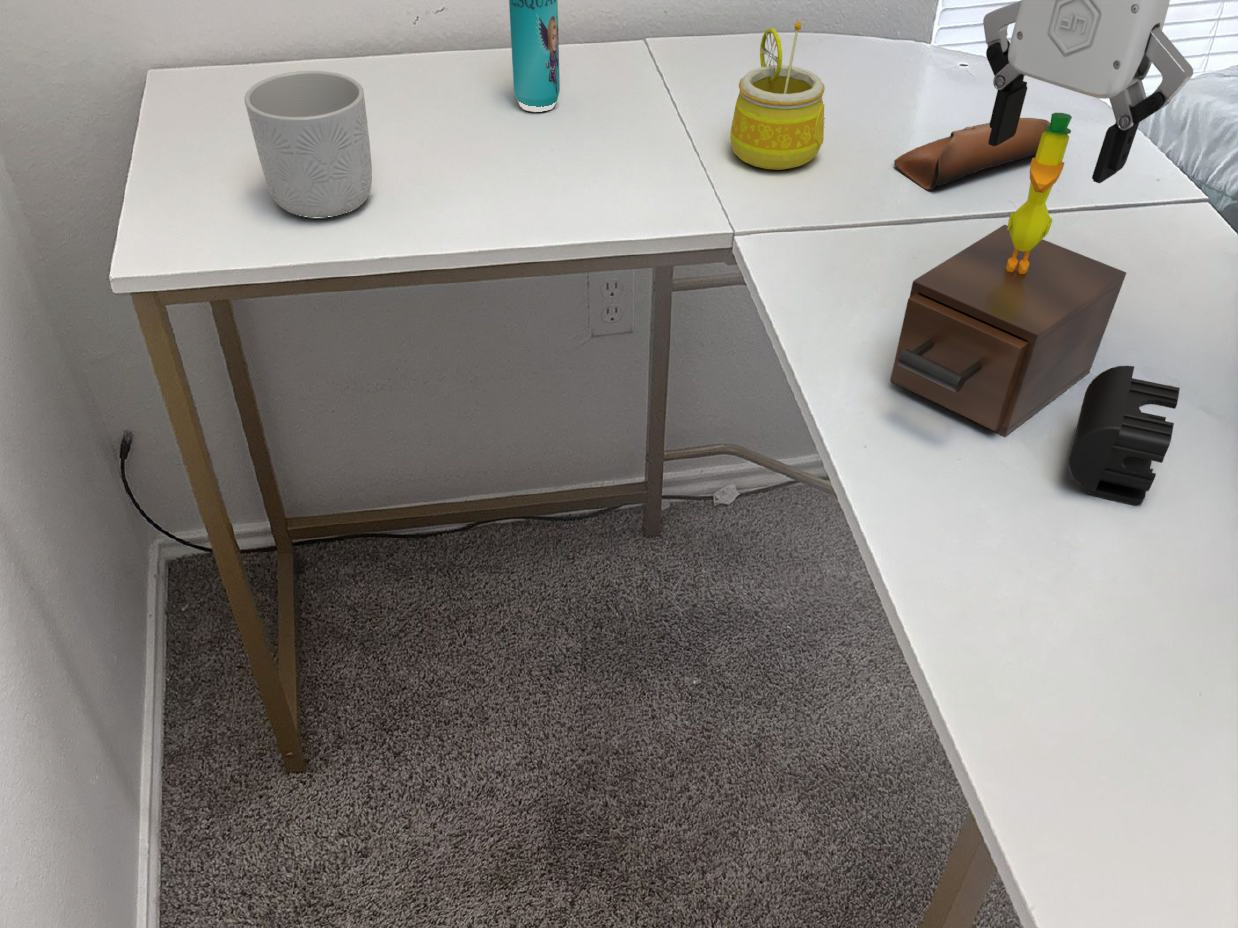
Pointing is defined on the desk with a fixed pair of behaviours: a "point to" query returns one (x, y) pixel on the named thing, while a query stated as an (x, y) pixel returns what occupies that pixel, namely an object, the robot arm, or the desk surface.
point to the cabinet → (1031, 311)
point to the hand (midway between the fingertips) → (1051, 158)
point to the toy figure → (1039, 192)
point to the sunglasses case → (968, 153)
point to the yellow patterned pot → (778, 112)
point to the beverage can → (535, 51)
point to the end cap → (1120, 435)
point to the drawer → (957, 360)
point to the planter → (312, 141)
